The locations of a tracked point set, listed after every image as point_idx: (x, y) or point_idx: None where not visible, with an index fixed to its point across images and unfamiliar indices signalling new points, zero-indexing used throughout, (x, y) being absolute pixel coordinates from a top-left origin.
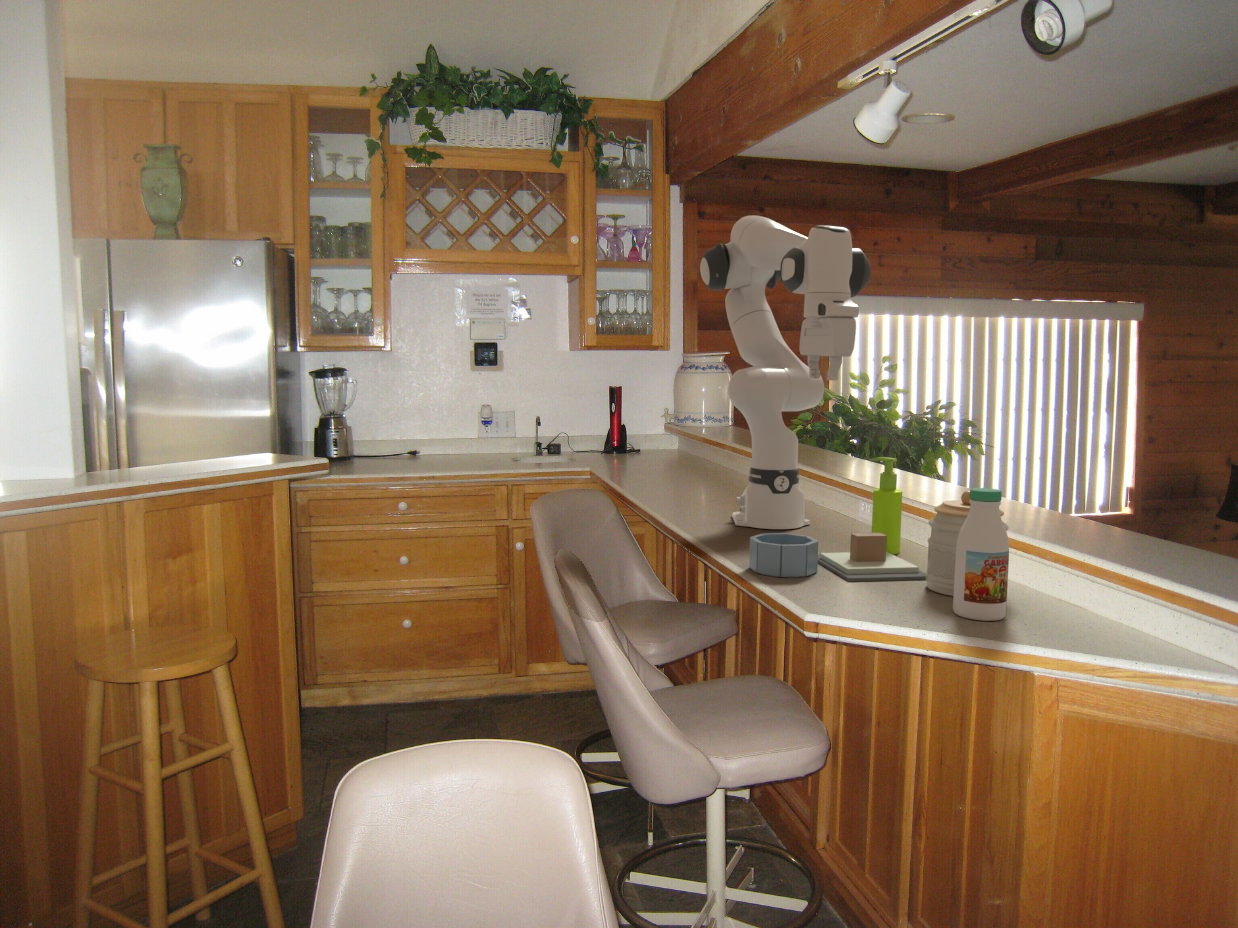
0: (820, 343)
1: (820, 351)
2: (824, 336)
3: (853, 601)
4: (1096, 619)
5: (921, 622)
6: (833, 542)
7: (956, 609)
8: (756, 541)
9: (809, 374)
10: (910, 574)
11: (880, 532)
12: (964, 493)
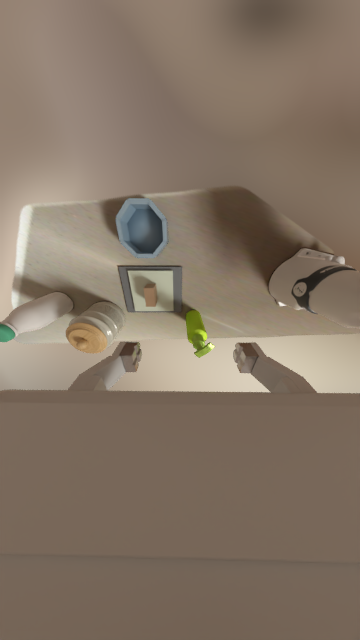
0: (126, 458)
1: (132, 405)
2: (27, 539)
3: (71, 250)
4: None
5: (38, 269)
6: (222, 298)
7: (55, 292)
8: (131, 198)
9: (257, 346)
10: (131, 304)
11: (189, 317)
12: (78, 343)
